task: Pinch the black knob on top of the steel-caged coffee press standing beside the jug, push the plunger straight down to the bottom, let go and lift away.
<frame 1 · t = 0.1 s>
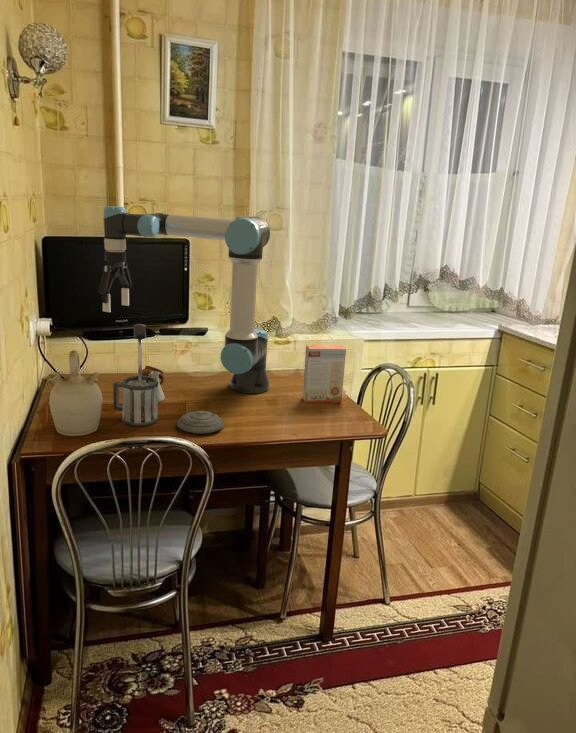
hand: (116, 308, 224), 28 cm above the table, fingers open, 13 cm apart
press carafe: (140, 419, 196), on the table
flask: (154, 400, 215), on the table
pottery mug: (151, 385, 230), on the table
cracker box: (321, 401, 226), on the table
flying saucer: (200, 428, 194), on the table
jug: (77, 429, 186), on the table
plunger: (139, 357, 190), point 21 cm above the table, slide at 0.0 cm
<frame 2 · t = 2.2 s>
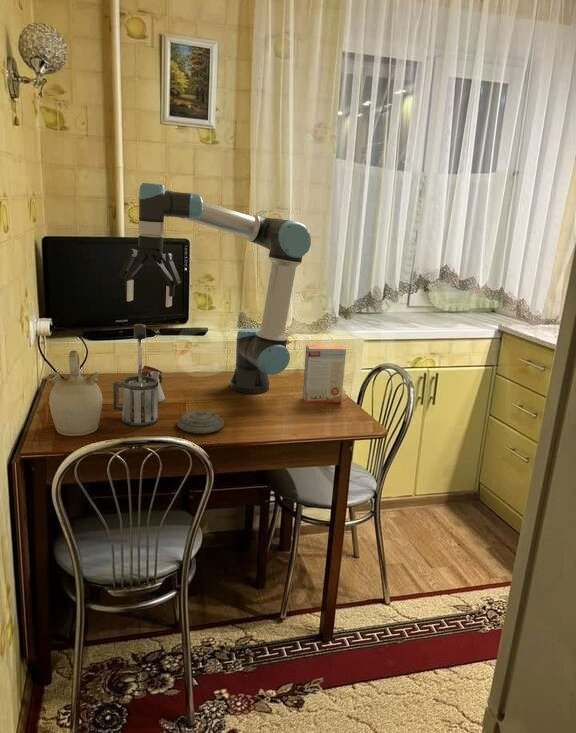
hand: (149, 303, 192), 37 cm above the table, fingers open, 13 cm apart
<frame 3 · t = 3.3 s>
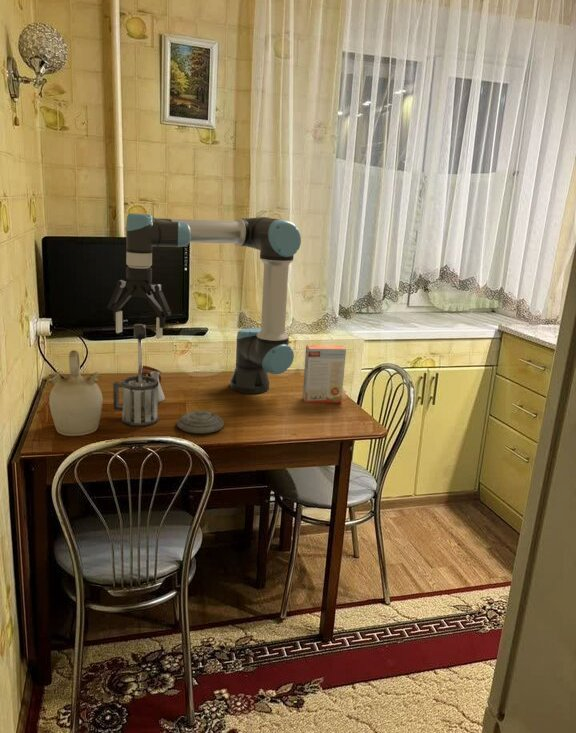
hand: (139, 335, 188), 28 cm above the table, fingers open, 13 cm apart
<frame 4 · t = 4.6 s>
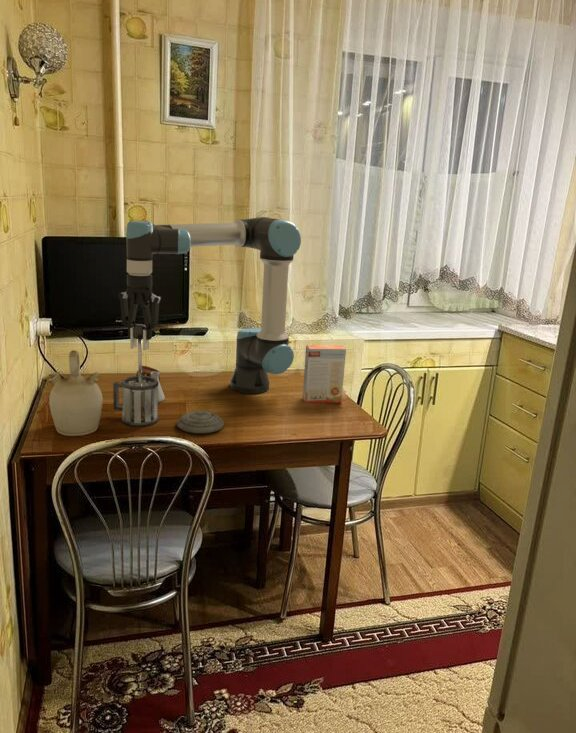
hand: (139, 348, 189), 24 cm above the table, fingers closed on plunger, 4 cm apart
plunger: (139, 357, 190), point 21 cm above the table, slide at 0.0 cm, touching gripper
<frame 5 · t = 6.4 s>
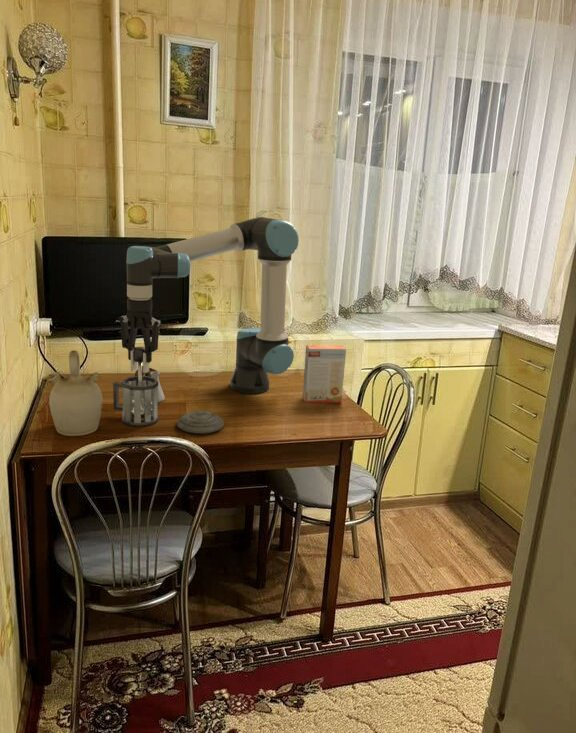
hand: (140, 370, 191), 17 cm above the table, fingers closed on plunger, 4 cm apart
plunger: (140, 379, 192), point 14 cm above the table, slide at 7.4 cm, touching gripper
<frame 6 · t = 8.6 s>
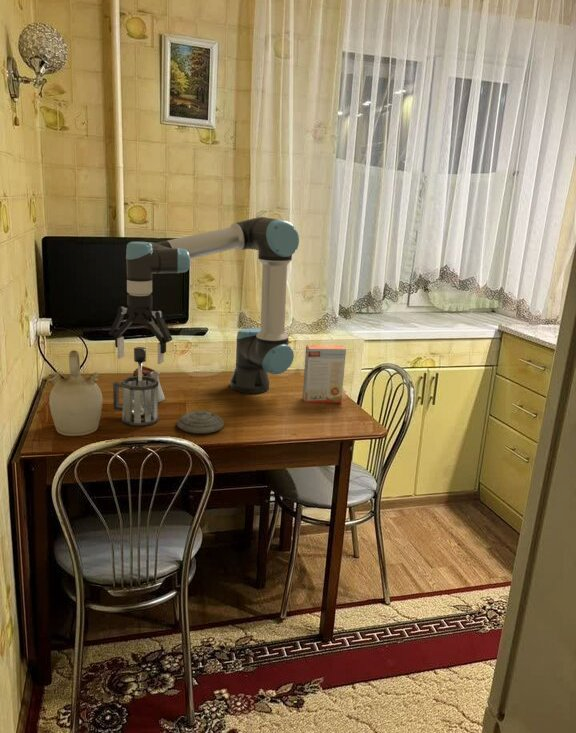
hand: (140, 360, 191), 20 cm above the table, fingers open, 13 cm apart
plunger: (140, 380, 192), point 14 cm above the table, slide at 7.5 cm
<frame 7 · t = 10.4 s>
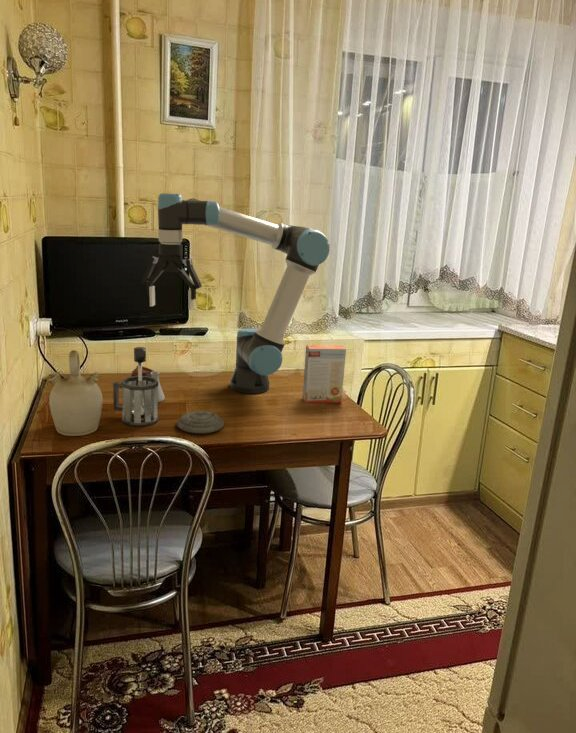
hand: (171, 307, 202), 34 cm above the table, fingers open, 13 cm apart
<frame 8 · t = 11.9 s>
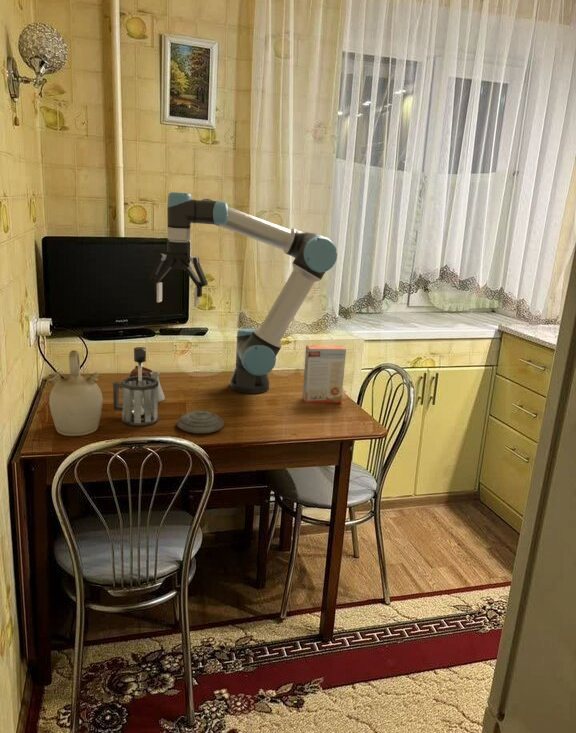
hand: (177, 304, 206), 35 cm above the table, fingers open, 13 cm apart
at the end: plunger slide at 7.5 cm; the gripper is holding nothing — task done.
